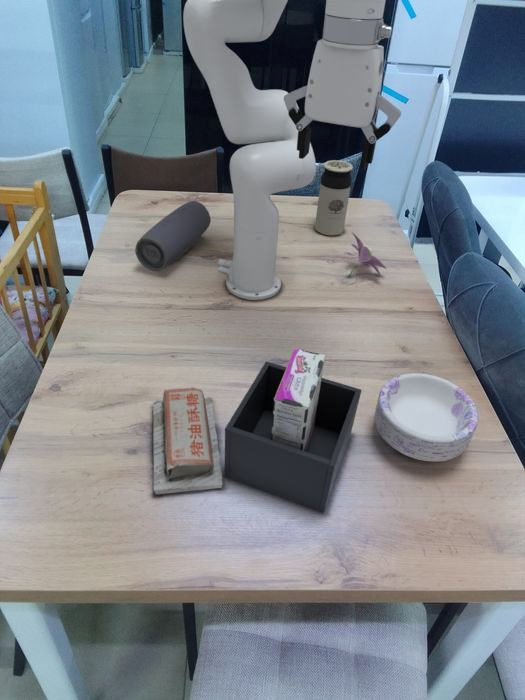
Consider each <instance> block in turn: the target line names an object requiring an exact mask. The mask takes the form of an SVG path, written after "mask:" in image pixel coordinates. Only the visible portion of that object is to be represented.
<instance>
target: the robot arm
mask: <svg viewBox="0 0 525 700" xmlns="http://www.w3.org/2000/svg"><path fill="white" fill-rule="evenodd" d="M288 1H289V0H186V2H185V4H184V8H183V14H182V15H183V17H182V19H183V21H182V22H183V29H184V30H183V31H184V35H185V40H186V44H187V47H188V50H189V52H190V55H191V57H192V59H193V61H194V63H195V65H196V66H197V68H198V69H199V71H200V73H201V75H202V76H203V78H204V80H205V82H206V84H207V86H208V89H209V92H210V93H209V94H210V96H211V98H212V102H213V104H214V108H215V110H216V114H217V116H218V119H219V122H220V125H221V128H222V130H223V133H224V135H225V137H226V138H227V140H228V141H229V142H230V143H232V144H235V145H244V146H241V147H239V148H238V149H237V150H236V151H234V153H232V156H231V157H230V159H229V175H230V181H231V189H232V196H233V253H232V254H233V259H232V261H229V260H226V259H222V258H220V259H218V261H217V267H218V273H221V274H226V275H227V277H226V281H225V285H226V288H227V290H228V292H230V293H231V295H234V296H235V297H238V298H240V299H244V300H248V301H249V300H250V301H261V300H266V299H269V298H272V297H274V296H275V295H277V294H278V293H279V292H280V290H281V286H282V280H281V279H280V277H279V276H278V275H277V274H276V264H277V252H278V251H277V250H278V239H279V238H278V237H279V224H280V214H279V213H280V212H279V210H278V207H277V206H276V204H275V203H274V202H273V200H272V199H271V195H273V194H277V193H281V192H286V191H292V190H298V189H302V188H305V187H307V186H309V185H310V184H312V182H313V181H314V179H315V176H316V172H317V171H316V170H317V165H316V157H315V153H314V149H313V145H312V143H311V139H312V137H311V136H312V127H311V126H310V124H311V123H312V122H313V121H317V122H321V123H326V124H327V123H328V124H335V125H339V126H345V127H352V128H360V129H361V130H362V132H363V134H364V136H365V138H366V140H365V141H364V143H363V145H362V151H361V157H360V163H359V170H360V171H365V170H366V169H367V167H368V165H369V164H370V165H371V164H372V163H373V160H374V155H375V150H376V145H377V141H379V140H380V139H381V138H383V137H384V136H385V135H387V134H388V133H389V132H390V131H391V130H392V128H393V127H394V126H395V124H396V123H397V121H398V120H399V119H400V118H401V116H402V111H401V110H400V109H399V108H398V107H396V106H395V105H394V104H393V103H392V102H390V101H389V100H388V99H387V98H385V97H384V96H383V95H381V92H382V83H383V73H384V57H385V55H384V54H385V52H384V51H385V50H384V49H385V48H384V46H383V45H380V44H379V42H380V41H381V40H384V39H390V38H391V35H392V31H393V26H390V25H387V24H385V22H384V18H383V17H384V12H385V5H386V0H325V1H326V2H325V11H324V13H325V14H324V19H323V29H322V38H321V39H319V40H317V42H316V45H315V49H314V53H313V55H312V61H311V65H310V68H309V69H310V70H309V75H308V80H307V85H304V86H302V87H300V88H297V89H295V90H293V91H290V92H288V91H286V90H284V89H258V88H256V87H255V85H254V83H253V80H252V78H251V75H250V71H249V69H248V67H247V65H246V64H245V63H244V62H243V60H242V59H241V58H240V57H239V56H238V55H237V53H235V51H233V50H232V49H230V48H229V47H228V46H227V45H226V44H227V43H230V44H233V43H257V42H263V41H265V40H267V39H268V38H269V37H271V35H272V34H273V33H274V31H275V29H276V27H277V25H278V23H279V21H280V18H281V16H282V13H283V12H284V10H285V7H286V6H287V3H288ZM303 98H305V99H304V115H303V113H302V112H301V110H300V108H299V106H298V103H297V101H299V100H300V99H303ZM378 110H380V111H381V112H382V113H383V114H385V115H386V116H387V119H386V120H385V122H384V123H383V124H381V125H380V126H377V124H376V122H375V119H376V117H377V115H378Z"/></svg>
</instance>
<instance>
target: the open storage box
mask: <svg viewBox="0 0 525 700" xmlns="http://www.w3.org/2000/svg"><path fill="white" fill-rule="evenodd" d="M286 368H287V366H284V365H282V364H281V365H280V364H277V363H273V362H270V361H267V360H266V361H264V363H263V365H262V367H261V369H260V370H259V372H258V374H257V375H256V377H255V379H254V380H253V382H252V384H251V385H250V387H249V388H248V390H247V392H246V393H245V395H244V397H243V398H242V400H241V401H240V403H239V404H238V407H237V408H236V410H235V412H234V413H233V414H232V416H231V418H230V420H229V421H228V423H227V424H226V426H225V428H224V477H227V478H229V479H231V480H235V481H238V482H240V483H242V484H245V485H249V486H251V487H254V488H256V489H259V490H261V491H264V492H267V493H270V494H271V495H275V496H278V497H281V498H283V499H286V500H288V501H292V502H294V503H297V504H300V505H302V506H305V507H307V508H310V509H313V510H317V511H319V512H321V513H325V511H326V508H327V506H328V502H329V499H330V497H331V493H332V490H333V488H334V486H335V482H336V479H337V476H338V474H339V470H340V467H341V465H342V461H343V458H344V456H345V452H346V450H347V447H348V444H349V442H350V438H351V436H352V431H353V427H354V423H355V419H356V414H357V411H358V407H359V402H360V399H361V394H362V389H361V388H357V387H354V386H351V385H347V384H344V383H341V382H337V381H334V380H331V379H328V378H324V377H322V379H321V386H320V392H319V399H318V405H317V412H316V418H315V425H314V431H313V435H312V438H311V441H310V445H309V448H308V451H307V452H305V451H302V450H299V449H296V448H293V447H290V446H288V445H285V444H282V443H279V442H276V441H273V440H271V437H272V421H273V407H274V398H275V395H276V393H277V390H278V388H279V385H280V383H281V380H282V378H283V375H284V373H285V370H286Z"/></svg>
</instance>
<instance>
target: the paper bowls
mask: <svg viewBox="0 0 525 700" xmlns="http://www.w3.org/2000/svg"><path fill="white" fill-rule="evenodd" d="M374 421H375V427H376V430H377V431H378V434H379V435H380V437H381V438H382V439H383V440H384V441H385V442H386V443H387V444H388V445H389V446H390V447H392V448H393V449H394V450H396V451H398V452H399V454H400V453H401V454H403V455H404V456H407V457H410V458H412V459H414V460H419V461H423V462H425V461H426V462H445V461H449V460H451V459H454V458H456V457H459V456H460V455H462V454H463V453H464V452H465V451H466V450H467V448H468V446H469V444H470V443H471V440H472V439H473V437H474V434H475V432H476V429H477V427H478V424H479V413H478V409H477V407H476V404H475V402H474V400H473V399H472V398H471V397H470V396H469V394H468V393H466V392H465V391H464V390H463V389H462V388H461V387H459V386H458V385H456V384H455V383H453V382H451V381H450V380H448V379H445V378H442V377H440V376H437V375H433V374H427V373H422V372H412V373H411V372H410V373H403V374H400V375H396V376H394V377H393V378H390V379H389V380H388V381H387V382H385V383H384V384H383V386H382V387H381V389H380V391H379V394H378V398H377V402H376V406H375V411H374Z"/></svg>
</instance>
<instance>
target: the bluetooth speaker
mask: <svg viewBox="0 0 525 700" xmlns="http://www.w3.org/2000/svg"><path fill="white" fill-rule="evenodd" d="M211 221H212V220H211V214H210V212H209V211H208V209H207V207H206V206H205V205H204V204H203V203H201V202H199V201H196V200H192V201H188V202H186V203H183V204H181V205H180V206H178V207H177V208H176V209H174V210H173V211H171V212H170V213H169V214H168V215H167V214H166V216H165V217H163V218H162V219H161V220H159V221H158V222H157V223H156V224H155V225H153V226H152V227H151V228H150V229H148V230H147V231H146V232H145V233H144V234H143V235H142V236H141V237H140V238H139V239H138V240H137V243H136V244H135V247H134V249H135V250H134V251H135V255H136V259H137V260H138V261H139V263H140V264H141V265H142V267H144V268H146V269H148V270H151V271H155V272H160V271H162V270H164V269H165V268H167V267H168V266H170V265H172V264H173V263H175V262H176V261H178V260H179V259H180V258H181V257H182V256H183V255H184V254H185V253H186V252H188V251H189V250H190V249H191V248H192V247H193V246H194V244H195V243H197V241H198V240H199V239H200V238H201V237H202V236H203V235H204V234H205V233H206V231H207V230H208V229H209V227H210V225H211Z"/></svg>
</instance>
